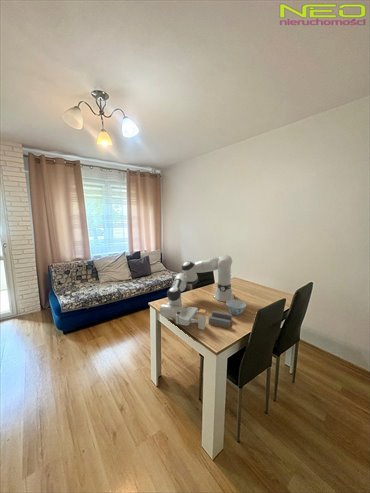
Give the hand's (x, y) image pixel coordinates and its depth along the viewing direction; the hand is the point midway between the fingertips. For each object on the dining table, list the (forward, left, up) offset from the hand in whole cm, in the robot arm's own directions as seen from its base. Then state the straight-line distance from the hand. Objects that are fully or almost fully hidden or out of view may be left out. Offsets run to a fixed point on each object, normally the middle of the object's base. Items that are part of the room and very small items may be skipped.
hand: (200, 317), depth 133 cm
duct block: (-12, +11, -7) cm, 18 cm away
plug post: (0, +1, -7) cm, 7 cm away
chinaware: (-30, +19, -7) cm, 37 cm away
